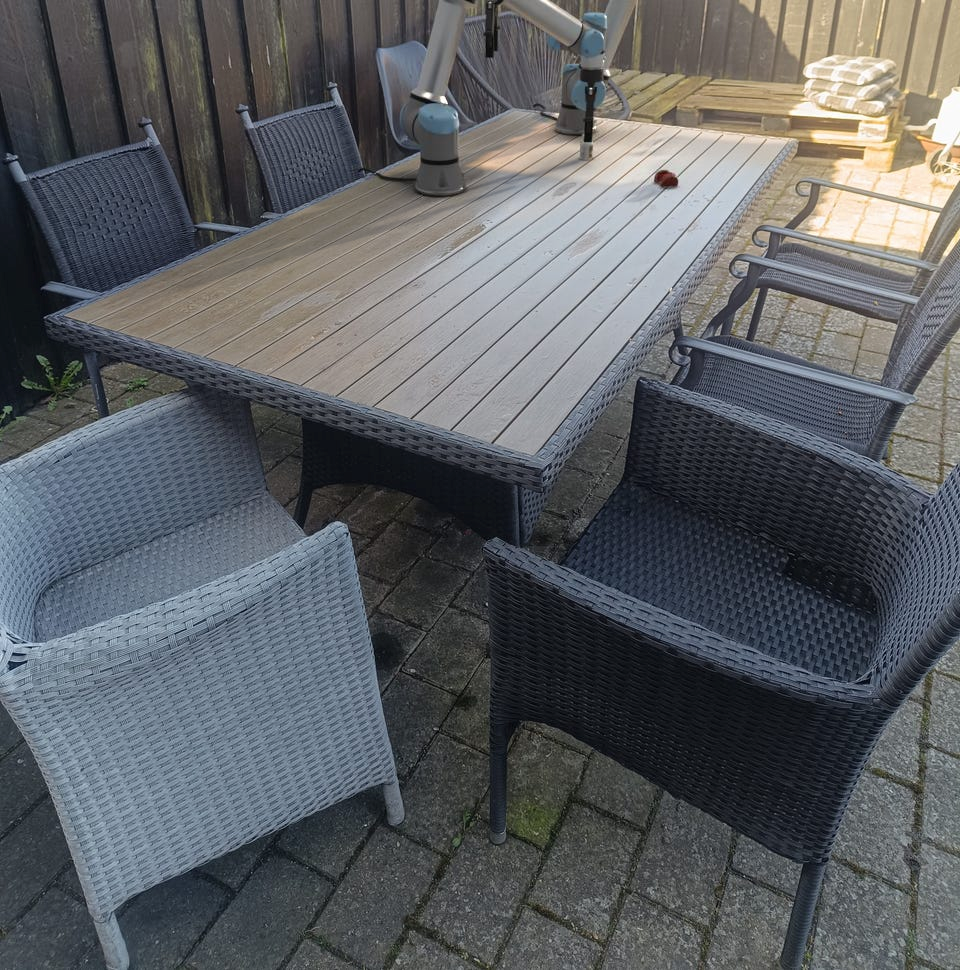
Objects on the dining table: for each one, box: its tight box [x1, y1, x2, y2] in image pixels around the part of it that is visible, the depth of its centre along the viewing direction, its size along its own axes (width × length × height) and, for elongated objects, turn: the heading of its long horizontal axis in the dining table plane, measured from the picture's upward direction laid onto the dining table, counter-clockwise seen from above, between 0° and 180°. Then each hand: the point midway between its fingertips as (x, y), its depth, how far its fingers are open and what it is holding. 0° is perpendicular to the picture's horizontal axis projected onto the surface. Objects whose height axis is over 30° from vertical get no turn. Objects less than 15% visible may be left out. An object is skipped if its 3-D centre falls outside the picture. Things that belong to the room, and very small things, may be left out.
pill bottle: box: [579, 134, 594, 161], centre depth 285 cm, size 4×4×8 cm
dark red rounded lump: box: [653, 169, 679, 188], centre depth 261 cm, size 6×4×8 cm
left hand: (588, 137), depth 284 cm, fingers open, 13 cm apart
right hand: (491, 54), depth 289 cm, fingers open, 13 cm apart
